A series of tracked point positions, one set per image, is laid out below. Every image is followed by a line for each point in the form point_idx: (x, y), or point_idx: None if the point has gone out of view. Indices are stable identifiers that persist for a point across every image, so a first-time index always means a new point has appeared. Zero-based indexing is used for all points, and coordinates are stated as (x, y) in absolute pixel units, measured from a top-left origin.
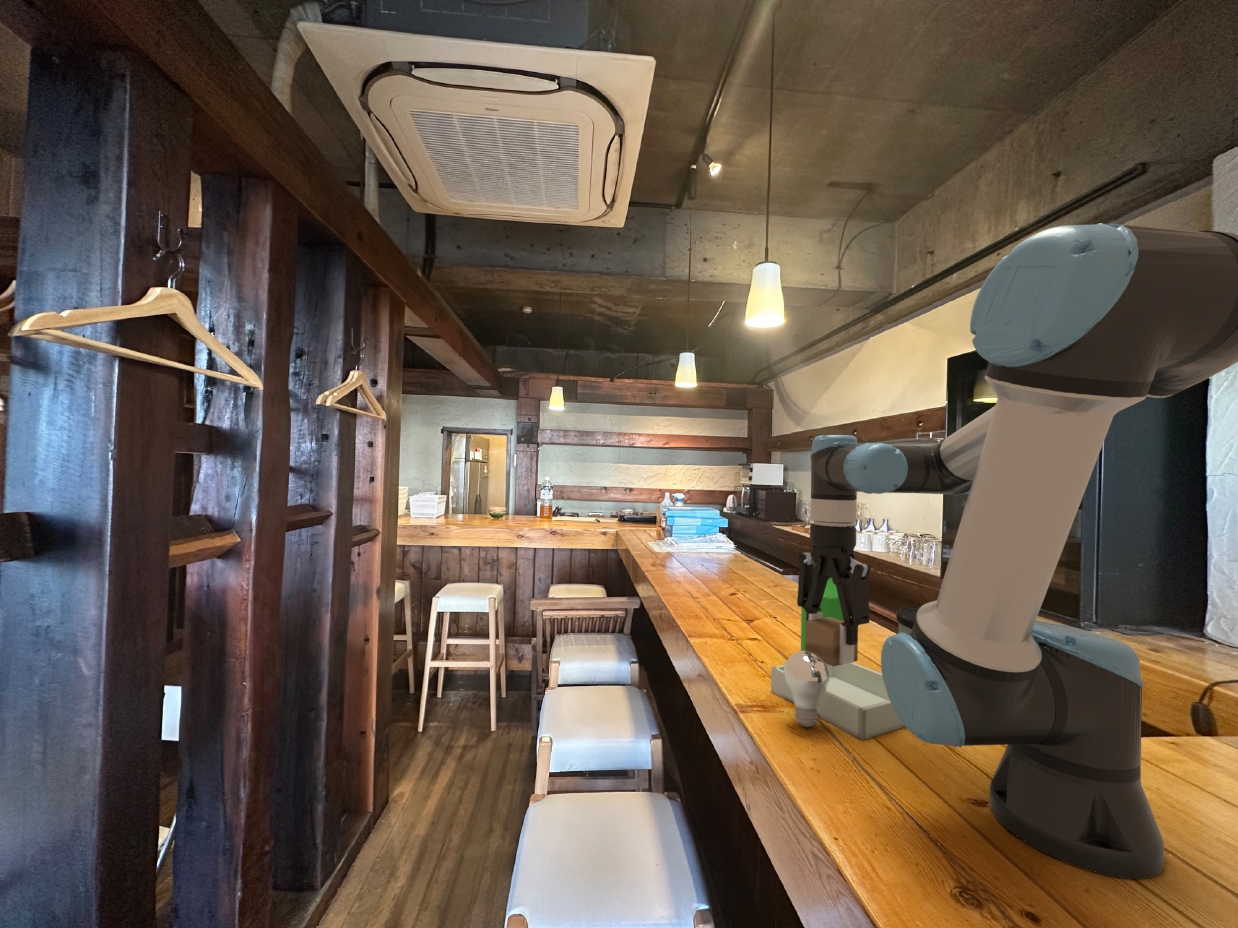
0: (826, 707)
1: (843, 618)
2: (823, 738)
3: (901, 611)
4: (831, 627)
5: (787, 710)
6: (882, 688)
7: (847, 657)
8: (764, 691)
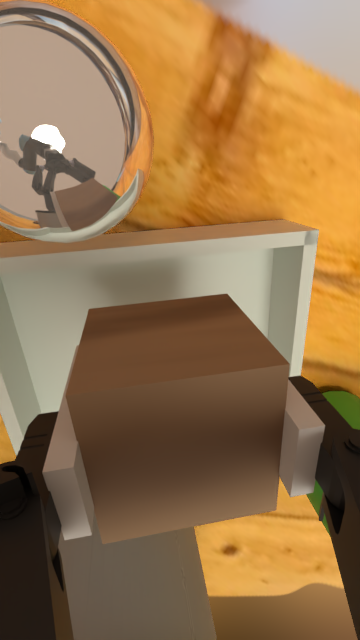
0: (92, 241)
1: (42, 518)
2: None
3: None
4: (126, 421)
5: (177, 177)
6: None
7: None
8: (291, 201)
